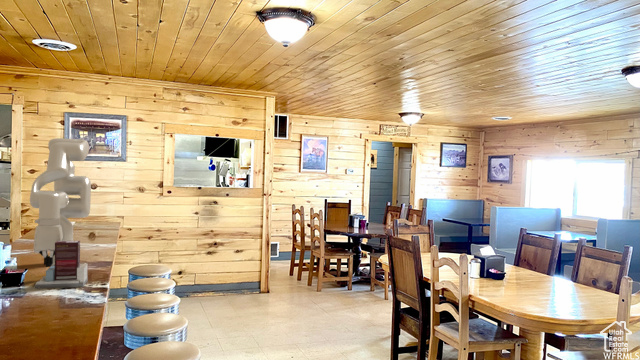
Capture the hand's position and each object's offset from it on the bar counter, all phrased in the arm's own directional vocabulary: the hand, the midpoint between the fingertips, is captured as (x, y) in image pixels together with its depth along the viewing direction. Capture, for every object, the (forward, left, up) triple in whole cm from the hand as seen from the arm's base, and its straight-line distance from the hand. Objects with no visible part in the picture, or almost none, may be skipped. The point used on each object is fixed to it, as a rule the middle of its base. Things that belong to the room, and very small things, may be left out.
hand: (48, 266), depth 198 cm
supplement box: (+9, +9, -4) cm, 13 cm away
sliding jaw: (+5, +3, -4) cm, 7 cm away
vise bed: (+9, +7, -6) cm, 13 cm away
